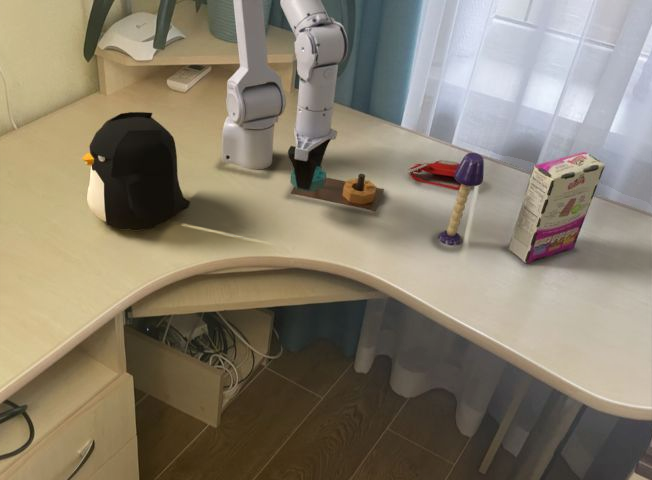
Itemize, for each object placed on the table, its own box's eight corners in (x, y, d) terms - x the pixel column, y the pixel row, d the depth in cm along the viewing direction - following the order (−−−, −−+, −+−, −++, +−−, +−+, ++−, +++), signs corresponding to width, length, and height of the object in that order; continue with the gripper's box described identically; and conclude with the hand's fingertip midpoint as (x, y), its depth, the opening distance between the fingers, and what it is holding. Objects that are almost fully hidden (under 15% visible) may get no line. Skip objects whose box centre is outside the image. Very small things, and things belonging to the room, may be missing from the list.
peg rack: (290, 197, 137) (292, 172, 134) (301, 176, 143) (303, 152, 140) (375, 214, 134) (379, 190, 131) (383, 192, 140) (387, 169, 137)
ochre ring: (340, 200, 136) (341, 191, 135) (347, 184, 140) (348, 176, 139) (370, 206, 135) (372, 197, 134) (376, 190, 139) (378, 182, 138)
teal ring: (287, 187, 127) (288, 177, 126) (296, 171, 131) (297, 162, 130) (319, 193, 126) (320, 184, 125) (327, 177, 130) (328, 168, 129)
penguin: (81, 193, 135) (68, 102, 123) (177, 180, 140) (173, 91, 128) (99, 250, 123) (87, 155, 111) (204, 233, 127) (203, 140, 116)
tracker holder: (443, 156, 149) (485, 166, 142) (439, 178, 151) (480, 189, 144) (403, 159, 142) (445, 169, 135) (400, 182, 143) (441, 194, 137)
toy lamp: (465, 239, 130) (490, 152, 119) (462, 253, 127) (487, 166, 115) (438, 233, 131) (460, 146, 120) (434, 247, 128) (456, 159, 116)
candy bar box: (553, 234, 133) (585, 150, 121) (573, 249, 129) (608, 164, 118) (505, 249, 129) (533, 163, 117) (524, 265, 125) (555, 178, 114)
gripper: (329, 127, 113) (320, 204, 122) (349, 89, 123) (340, 163, 133) (284, 119, 114) (279, 196, 124) (308, 82, 125) (301, 156, 134)
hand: (308, 178), depth 128 cm, fingers closed on teal ring, 6 cm apart
